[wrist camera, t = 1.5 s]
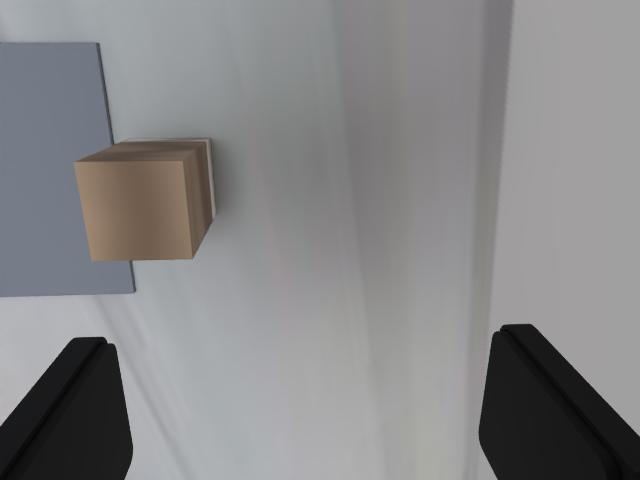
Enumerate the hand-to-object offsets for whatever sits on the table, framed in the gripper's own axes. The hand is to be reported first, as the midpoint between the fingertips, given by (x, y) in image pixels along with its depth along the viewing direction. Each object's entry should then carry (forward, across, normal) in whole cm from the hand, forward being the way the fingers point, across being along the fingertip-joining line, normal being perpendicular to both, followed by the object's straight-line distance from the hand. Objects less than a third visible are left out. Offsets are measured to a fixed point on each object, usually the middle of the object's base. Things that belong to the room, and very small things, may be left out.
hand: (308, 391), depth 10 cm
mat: (+22, +19, 0) cm, 29 cm away
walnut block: (+22, +8, 0) cm, 23 cm away
